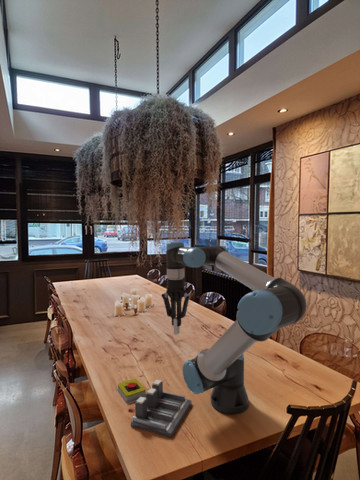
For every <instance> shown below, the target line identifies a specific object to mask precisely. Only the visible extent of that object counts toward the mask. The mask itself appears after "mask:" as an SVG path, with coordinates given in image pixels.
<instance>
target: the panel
mask: <svg viewBox="0 0 360 480" xmlns="http://www.w3.org/2000/svg"><path fill="white" fill-rule="evenodd" d="M157 399H158V406H157V407H156V408H155V409H154V408H150V407H147V410H148V415H147V416H146V418H145V419H143V418H139V417H136V416H135V415H133V416H132V420H131V421H130V426H131V427H133V428H137V429H140V430H144V431H148V432H151V433H154V434H158V435H160V436H164V437H168V438H172V437H173V436H174V434H175V432H176V430H177V428H178V427H179V426H180V424H181V422H182V420H183V419H184V417H185V416H186V414H187V413H188V411H189V410H190V407H191V405H192V402H193V401H192V399H187V398H186V395H181V394H177V393H173V392H168V391H165V390H163V397H162V398H161V399H159V398H157Z"/></svg>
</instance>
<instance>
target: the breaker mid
mask: <svg viewBox="0 0 360 480" xmlns="http://www.w3.org/2000/svg"><path fill="white" fill-rule="evenodd" d="M146 399H147V407H150V408H154V409H155V408H156V407H157V406H158V399H157V390H156V389H153V388H152V387H151V388H149V389H148V390H147V391H146Z"/></svg>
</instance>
